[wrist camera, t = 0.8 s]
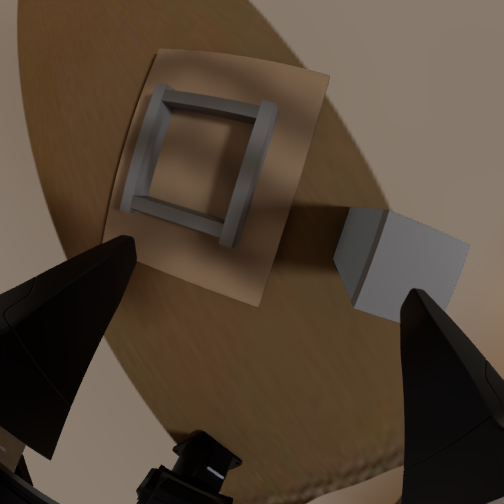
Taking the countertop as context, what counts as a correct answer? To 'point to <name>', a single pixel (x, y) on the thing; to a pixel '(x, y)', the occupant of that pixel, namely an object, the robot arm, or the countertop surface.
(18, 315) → the robot arm
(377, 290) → the block
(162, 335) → the countertop surface
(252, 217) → the jig cradle
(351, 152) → the countertop surface
